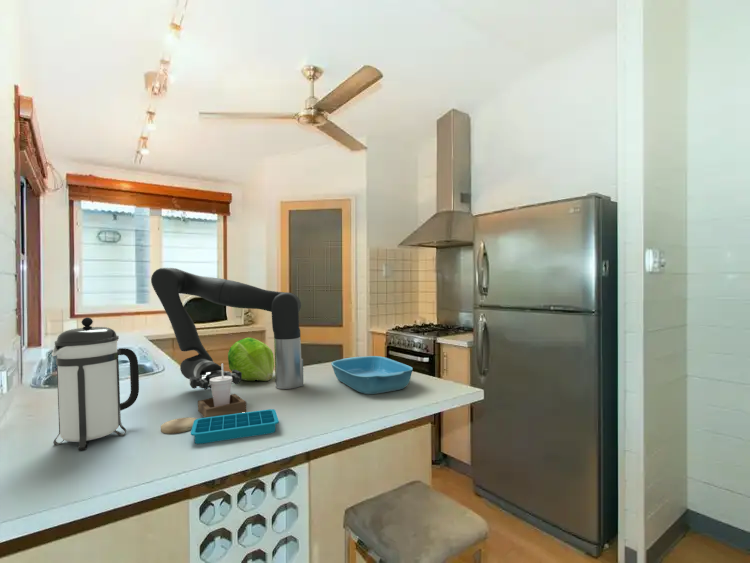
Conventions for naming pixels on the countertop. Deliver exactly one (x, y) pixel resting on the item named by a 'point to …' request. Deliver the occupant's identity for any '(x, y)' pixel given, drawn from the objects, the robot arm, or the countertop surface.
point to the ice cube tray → (234, 426)
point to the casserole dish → (372, 374)
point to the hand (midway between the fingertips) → (222, 383)
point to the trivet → (178, 425)
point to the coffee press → (91, 383)
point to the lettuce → (251, 359)
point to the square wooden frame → (221, 407)
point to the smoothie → (221, 389)
